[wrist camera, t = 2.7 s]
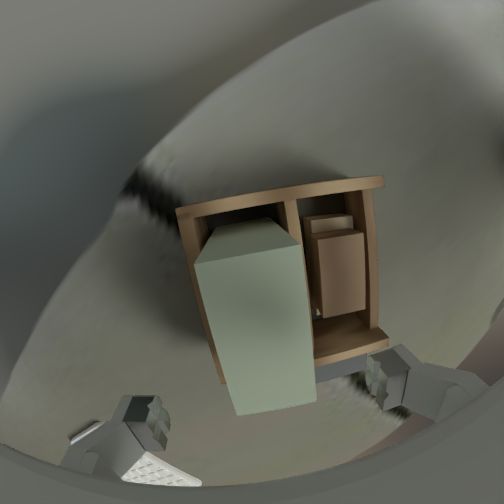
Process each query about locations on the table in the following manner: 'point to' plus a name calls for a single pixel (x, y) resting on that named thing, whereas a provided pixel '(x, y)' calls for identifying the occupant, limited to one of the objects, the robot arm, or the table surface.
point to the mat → (340, 368)
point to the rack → (325, 330)
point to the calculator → (150, 468)
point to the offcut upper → (338, 271)
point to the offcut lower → (315, 226)
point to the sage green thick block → (258, 314)
